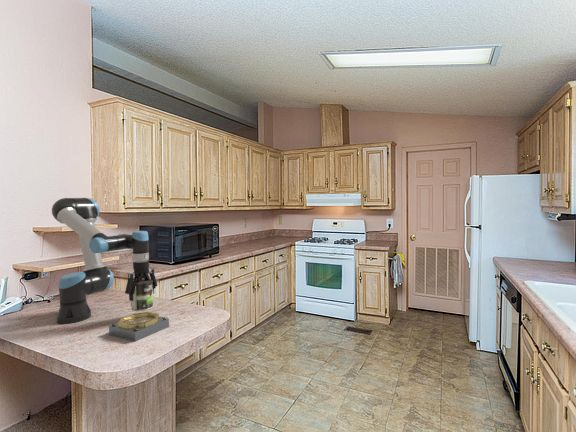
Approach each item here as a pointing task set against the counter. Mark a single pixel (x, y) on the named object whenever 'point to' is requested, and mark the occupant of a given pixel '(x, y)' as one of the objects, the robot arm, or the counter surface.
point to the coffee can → (143, 295)
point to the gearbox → (138, 326)
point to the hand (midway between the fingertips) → (142, 303)
